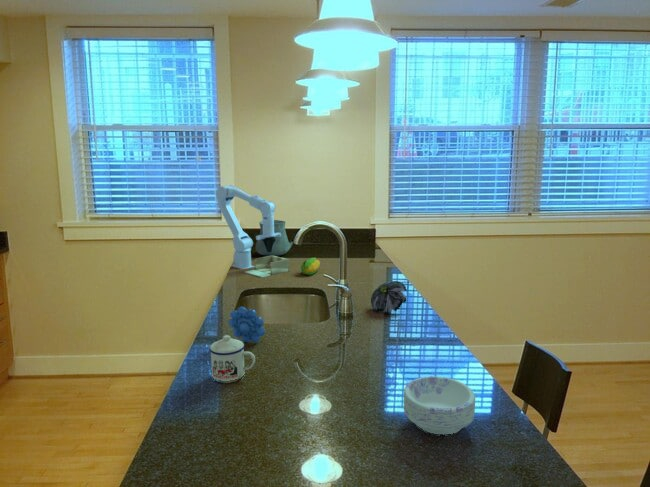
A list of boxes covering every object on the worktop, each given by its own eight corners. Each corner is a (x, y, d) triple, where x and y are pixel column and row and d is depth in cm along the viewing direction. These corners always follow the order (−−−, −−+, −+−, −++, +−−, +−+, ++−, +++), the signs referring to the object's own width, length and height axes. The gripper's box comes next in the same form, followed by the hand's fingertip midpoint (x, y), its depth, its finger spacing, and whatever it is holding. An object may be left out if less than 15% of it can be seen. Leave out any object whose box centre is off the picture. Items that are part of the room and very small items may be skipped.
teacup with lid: (207, 384, 129) (204, 342, 127) (217, 369, 138) (214, 329, 136) (252, 385, 128) (250, 343, 126) (259, 370, 137) (257, 330, 135)
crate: (255, 271, 251) (254, 258, 250) (272, 267, 258) (272, 255, 257) (272, 276, 241) (271, 262, 240) (289, 272, 248) (289, 259, 247)
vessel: (296, 257, 283) (296, 222, 279) (258, 260, 277) (256, 225, 274) (289, 250, 304) (288, 218, 300) (253, 252, 298) (252, 219, 294)
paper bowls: (441, 453, 99) (442, 416, 97) (389, 420, 111) (389, 387, 109) (488, 427, 107) (490, 394, 106) (435, 400, 119) (436, 369, 118)
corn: (298, 261, 237) (311, 253, 256) (297, 276, 239) (310, 267, 258) (312, 263, 235) (324, 254, 254) (312, 278, 237) (323, 269, 256)
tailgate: (253, 271, 250) (243, 274, 246) (253, 269, 250) (243, 271, 246) (270, 276, 240) (260, 278, 236) (270, 274, 240) (260, 276, 236)
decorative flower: (359, 283, 189) (393, 269, 192) (363, 306, 195) (397, 292, 198) (377, 303, 177) (413, 288, 180) (381, 327, 183) (416, 312, 187)
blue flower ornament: (225, 347, 153) (223, 310, 151) (231, 339, 160) (230, 304, 158) (262, 348, 152) (260, 311, 150) (267, 340, 159) (265, 304, 157)
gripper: (261, 228, 241) (262, 255, 244) (284, 224, 251) (285, 251, 254) (253, 226, 246) (254, 253, 249) (275, 223, 256) (276, 249, 259)
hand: (269, 252), depth 252 cm, fingers closed
